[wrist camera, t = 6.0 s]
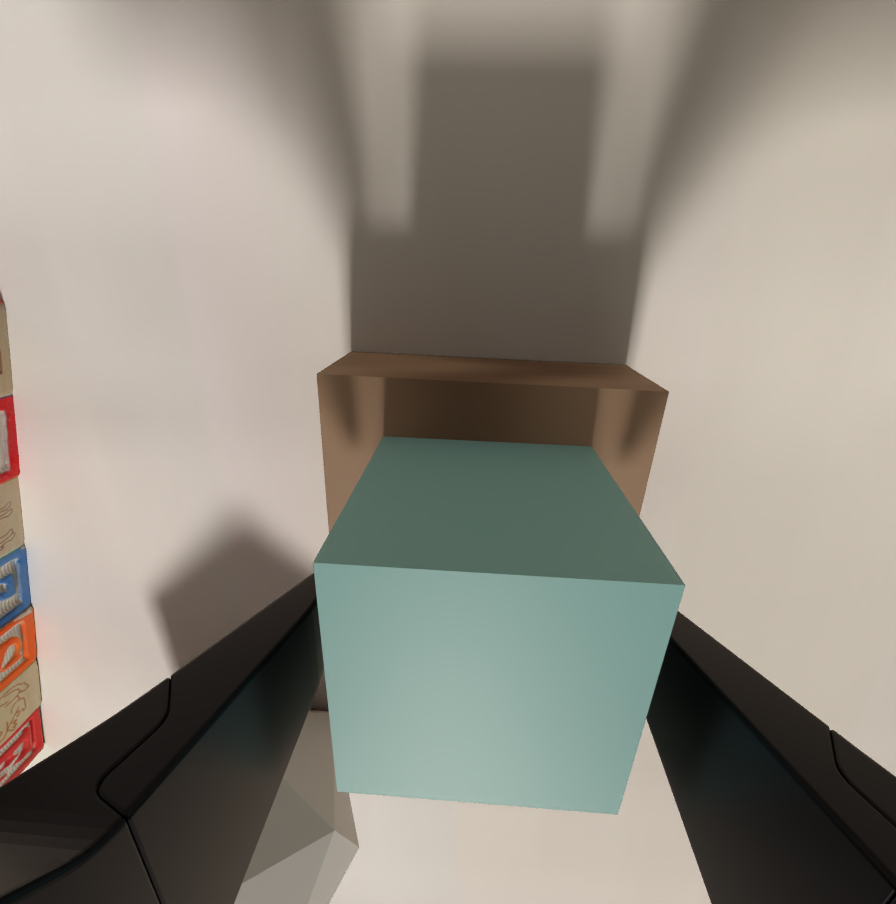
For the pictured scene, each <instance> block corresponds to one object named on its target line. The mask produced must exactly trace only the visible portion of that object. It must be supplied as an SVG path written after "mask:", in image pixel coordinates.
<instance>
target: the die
mask: <svg viewBox="0 0 896 904" xmlns="http://www.w3.org/2000/svg"><path fill="white" fill-rule="evenodd" d="M358 848H359V844H358V839H357V834H356V829H355V823H354V818H353V813H352V808H351V802H350V797H349V793H347V792H337V785H336V776H335V766H334V757H333V747H332V738H331V728H330V719H329V711H318V710H309V712H308V715H307V718H306V720H305V723H304V725H303V728H302V730H301V733H300V736H299V738H298V741H297V743H296V746H295V748H294V751H293V754H292V756H291V759H290V761H289V764H288V766H287V769H286V772H285V774H284V777H283V779H282V782H281V784H280V787H279V790H278V792H277V795H276V797H275V800H274V802H273V805H272V808H271V810H270V813H269V815H268V818H267V820H266V823H265V826H264V828H263V831H262V833H261V836H260V838H259V841H258V844H257V846H256V849H255V851H254V854H253V856H252V859H251V862H250V864H249V867H248V869H247V872H246V874H245V877H244V880H243V882H242V885H241V887H240V890H239V892H238V895H237V898H236V900H235V903H234V904H329V902H330V900H331V898H332V896H333V895H334V893H335V891H336V889H337V887H338V885H339V883H340V882H341V880H342V878H343V876H344V874H345V872H346V871H347V869H348V867H349V865H350V863H351V861H352V859H353V858H354V856H355V854H356V852H357V850H358Z"/></svg>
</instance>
